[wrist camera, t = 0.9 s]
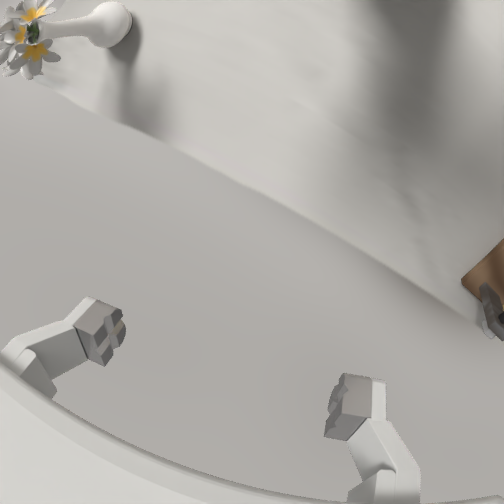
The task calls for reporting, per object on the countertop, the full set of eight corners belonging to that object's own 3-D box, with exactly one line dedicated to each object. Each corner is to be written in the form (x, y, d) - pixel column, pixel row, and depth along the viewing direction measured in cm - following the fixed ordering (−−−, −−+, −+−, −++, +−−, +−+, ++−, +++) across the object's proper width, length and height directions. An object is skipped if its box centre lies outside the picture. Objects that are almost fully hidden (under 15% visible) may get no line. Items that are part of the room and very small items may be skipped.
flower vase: (93, -5, 39) (-19, 8, 20) (163, -5, 36) (32, -7, 18) (83, 52, 47) (-23, 82, 28) (148, 63, 45) (23, 94, 26)
